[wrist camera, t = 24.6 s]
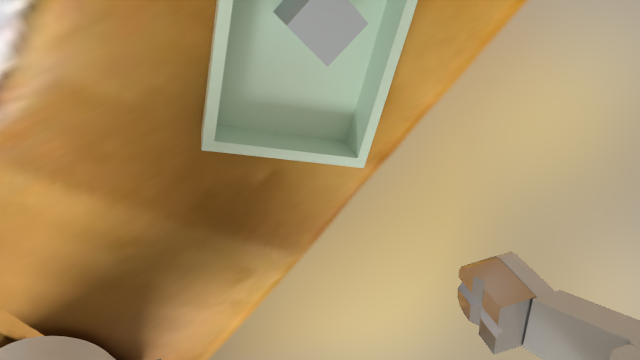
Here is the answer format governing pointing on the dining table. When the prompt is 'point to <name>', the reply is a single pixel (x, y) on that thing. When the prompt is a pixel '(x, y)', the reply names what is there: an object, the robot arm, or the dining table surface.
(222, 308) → the dining table surface
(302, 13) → the grey block
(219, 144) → the serving tray
